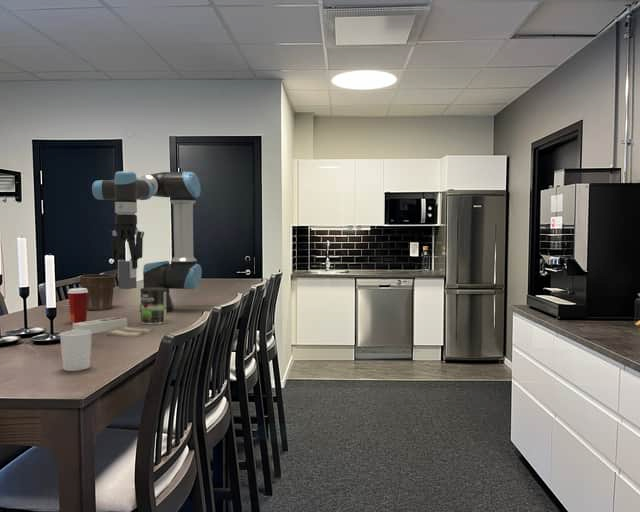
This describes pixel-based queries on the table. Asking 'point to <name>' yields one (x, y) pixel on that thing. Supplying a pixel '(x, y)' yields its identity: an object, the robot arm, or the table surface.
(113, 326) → the power strip
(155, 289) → the coffee can
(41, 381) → the table surface
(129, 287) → the block
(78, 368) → the white cup
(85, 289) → the paper cup
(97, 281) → the plant pot
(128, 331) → the birch pad
